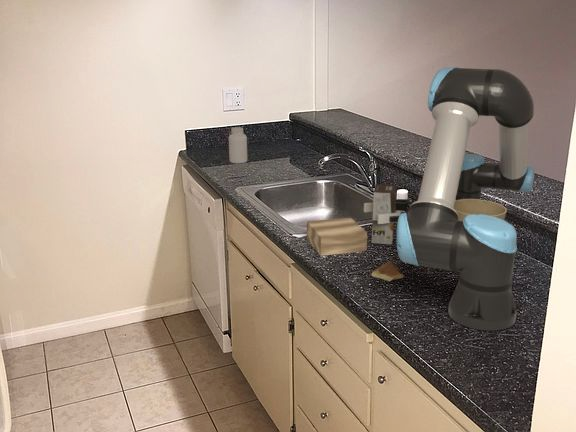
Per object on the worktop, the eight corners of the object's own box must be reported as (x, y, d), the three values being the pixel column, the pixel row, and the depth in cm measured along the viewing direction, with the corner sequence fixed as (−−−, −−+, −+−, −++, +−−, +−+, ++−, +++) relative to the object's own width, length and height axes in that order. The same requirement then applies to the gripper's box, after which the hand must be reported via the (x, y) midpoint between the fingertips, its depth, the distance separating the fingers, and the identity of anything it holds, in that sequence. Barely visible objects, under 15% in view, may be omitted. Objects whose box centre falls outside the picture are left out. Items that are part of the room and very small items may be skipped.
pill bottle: (225, 162, 292) (224, 128, 287) (237, 158, 298) (236, 125, 293) (239, 164, 287) (238, 130, 283) (251, 161, 294) (250, 127, 289)
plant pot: (458, 273, 177) (463, 217, 172) (437, 252, 191) (441, 200, 186) (510, 269, 179) (517, 214, 174) (486, 249, 193) (491, 197, 188)
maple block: (366, 251, 192) (367, 232, 191) (320, 256, 189) (321, 237, 187) (349, 235, 205) (350, 217, 203) (306, 239, 202) (306, 221, 200)
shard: (390, 264, 184) (391, 258, 183) (415, 271, 179) (415, 265, 179) (370, 277, 176) (370, 271, 175) (395, 284, 171) (395, 278, 171)
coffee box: (392, 245, 196) (395, 193, 190) (370, 243, 197) (373, 191, 192) (394, 234, 204) (396, 184, 199) (373, 233, 205) (375, 183, 200)
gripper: (455, 231, 193) (385, 238, 188) (421, 207, 214) (357, 213, 208) (458, 206, 191) (386, 213, 185) (422, 185, 211) (357, 190, 206)
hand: (371, 213), depth 197 cm, fingers closed on coffee box, 10 cm apart
